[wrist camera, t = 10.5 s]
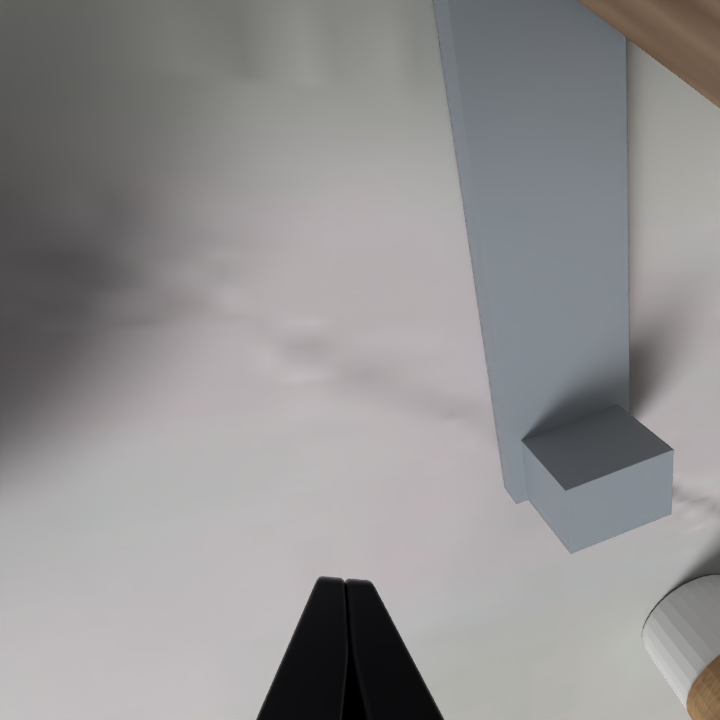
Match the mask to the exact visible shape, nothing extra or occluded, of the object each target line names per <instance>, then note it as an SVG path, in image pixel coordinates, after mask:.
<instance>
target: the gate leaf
mask: <svg viewBox="0 0 720 720" xmlns="http://www.w3.org/2000/svg"><path fill="white" fill-rule="evenodd" d="M578 1H579V2H580V3H582V4H583V5H584V6H586V7H587V8H588V9H590V10H591V11H592V12H594V13H595V14H596V15H598V16H599V17H600V18H601V19H603V20H604V21H605V22H607V23H608V24H609V25H611V26H612V27H613V28H615V29H616V30H617V31H619V32H620V33H621V34H623V35H624V36H625V37H627V38H628V39H629V40H631V41H632V42H633V43H634V44H636V45H637V46H638V47H640V48H641V49H642V50H644V51H645V52H646V53H648V54H649V55H650V56H652V57H653V58H654V59H656V60H657V61H658V62H660V63H661V64H662V65H664V66H665V67H666V68H667V69H669V70H670V71H671V72H673V73H674V74H675V75H677V76H678V77H679V78H681V79H682V80H683V81H685V82H686V83H687V84H689V85H690V86H691V87H693V88H694V89H695V90H697V91H698V92H699V93H701V94H702V95H703V96H704V97H706V98H707V99H708V100H710V101H711V102H712V103H714V104H715V105H716V106H718V107H719V108H720V0H578Z"/></svg>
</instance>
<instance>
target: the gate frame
mask: <svg viewBox="0 0 720 720" xmlns="http://www.w3.org/2000/svg"><path fill="white" fill-rule="evenodd" d="M433 3H434V9H435V16H436V23H437V30H438V37H439V43H440V50H441V57H442V64H443V71H444V77H445V84H446V91H447V98H448V105H449V111H450V118H451V125H452V132H453V139H454V145H455V152H456V159H457V166H458V173H459V179H460V186H461V193H462V200H463V207H464V213H465V220H466V227H467V234H468V241H469V247H470V254H471V261H472V268H473V275H474V281H475V288H476V295H477V302H478V309H479V315H480V322H481V329H482V336H483V343H484V349H485V356H486V363H487V370H488V377H489V384H490V390H491V397H492V404H493V411H494V418H495V424H496V431H497V438H498V445H499V452H500V458H501V465H502V472H503V479H504V486H505V489H506V490H507V492H508V493H509V494H510V496H511V497H512V499H513V500H514V501H515V503H516V504H518V503H521V502H524V501H526V500H529V501H530V503H531V504H532V505H533V506H534V508H535V509H536V510H537V512H538V513H539V514H540V515H541V517H542V518H543V519H544V520H545V522H546V523H547V524H548V526H549V527H550V528H551V529H552V531H553V532H554V533H555V535H556V536H557V537H558V538H559V540H560V541H561V542H562V544H563V545H564V546H565V547H566V549H567V550H568V551H569V553H570V554H572V553H575V552H577V551H580V550H582V549H585V548H587V547H590V546H592V545H595V544H597V543H600V542H602V541H605V540H607V539H610V538H612V537H615V536H617V535H620V534H622V533H625V532H627V531H630V530H632V529H635V528H638V527H640V526H643V525H645V524H648V523H650V522H653V521H655V520H658V519H660V518H663V517H665V516H668V515H670V514H671V511H672V483H673V455H674V449H672V448H671V447H670V446H669V445H668V444H666V443H665V442H664V441H663V440H661V439H660V438H659V437H658V436H656V435H655V434H654V433H653V432H651V431H650V430H649V429H648V428H646V427H645V426H644V425H643V424H641V423H640V422H639V421H638V420H636V419H635V418H634V417H633V416H631V415H630V387H629V286H628V185H627V84H626V37H625V36H624V35H623V34H621V33H620V32H619V31H617V30H616V29H615V28H613V27H612V26H611V25H609V24H608V23H607V22H605V21H604V20H603V19H601V18H600V17H599V16H598V15H596V14H595V13H594V12H592V11H591V10H590V9H588V8H587V7H586V6H584V5H583V4H582V3H580V2H579V1H578V0H433Z"/></svg>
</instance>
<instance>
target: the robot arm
mask: <svg viewBox="0 0 720 720" xmlns="http://www.w3.org/2000/svg"><path fill="white" fill-rule="evenodd" d="M256 720H444V718H443V716H442V714H441V713H440V711H439V709H438V707H437V705H436V703H435V701H434V699H433V697H432V695H431V693H430V692H429V690H428V688H427V686H426V684H425V682H424V680H423V678H422V676H421V674H420V672H419V671H418V669H417V667H416V665H415V663H414V661H413V659H412V657H411V655H410V653H409V651H408V650H407V648H406V646H405V644H404V642H403V640H402V638H401V636H400V634H399V632H398V630H397V629H396V627H395V625H394V623H393V621H392V619H391V617H390V615H389V613H388V611H387V609H386V608H385V606H384V604H383V602H382V600H381V598H380V596H379V594H378V592H377V590H376V588H375V587H374V585H373V584H372V583H371V582H370V581H368V580H359V579H347V580H346V581H345V582H344V580H343V579H341V578H335V577H324V576H321V577H319V578H318V579H317V581H316V583H315V585H314V588H313V590H312V592H311V595H310V597H309V599H308V601H307V604H306V606H305V608H304V611H303V613H302V615H301V618H300V620H299V622H298V624H297V627H296V629H295V631H294V634H293V636H292V638H291V641H290V643H289V645H288V648H287V650H286V652H285V654H284V657H283V659H282V661H281V664H280V666H279V668H278V671H277V673H276V675H275V677H274V680H273V682H272V684H271V687H270V689H269V691H268V694H267V696H266V698H265V701H264V703H263V705H262V707H261V710H260V712H259V714H258V717H257V719H256Z"/></svg>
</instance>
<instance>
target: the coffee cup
mask: <svg viewBox="0 0 720 720" xmlns="http://www.w3.org/2000/svg"><path fill="white" fill-rule="evenodd" d="M642 638H643V644H644V646H645V648H646V650H647V652H648V653H649V655H650V656H651V658H652V659H653V661H654V662H655V664H656V665H657V667H658V668H659V670H660V671H661V673H662V674H663V675H664V677H665V678H666V680H667V681H668V683H669V684H670V686H671V687H672V689H673V690H674V692H675V693H676V695H677V696H678V697H679V699H680V700H681V702H682V703H683V705H684V706H685V708H686V709H687V711H688V713H689V715H690V717H691V718H692V720H720V575H709V576H703V577H700V578H697V579H694V580H692V581H690V582H688V583H686V584H684V585H682V586H680V587H679V588H677V589H675V590H674V591H673V592H671V593H670V594H669V595H668V596H666V597H665V598H664V599H663V600H662V601H661V602H660V603H659V604H658V605H657V606H656V608H655V609H654V610H653V611H652V613H651V614H650V616H649V617H648V619H647V621H646V623H645V626H644V629H643V634H642Z"/></svg>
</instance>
